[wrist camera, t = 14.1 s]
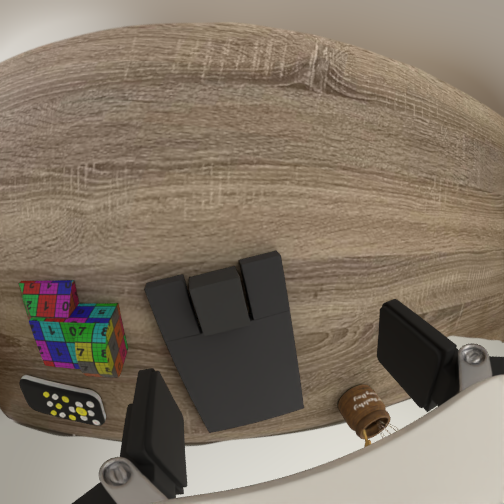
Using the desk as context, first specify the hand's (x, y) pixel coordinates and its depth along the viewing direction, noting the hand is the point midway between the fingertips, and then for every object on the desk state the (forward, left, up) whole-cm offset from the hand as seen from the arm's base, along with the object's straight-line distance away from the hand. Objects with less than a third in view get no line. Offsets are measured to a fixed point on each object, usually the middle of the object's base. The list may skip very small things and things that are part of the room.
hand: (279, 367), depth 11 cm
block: (-6, -18, -18) cm, 26 cm away
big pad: (+10, -8, -17) cm, 21 cm away
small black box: (+3, -4, -17) cm, 18 cm away
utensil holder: (+30, -2, -18) cm, 35 cm away
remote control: (0, -31, -18) cm, 35 cm away
